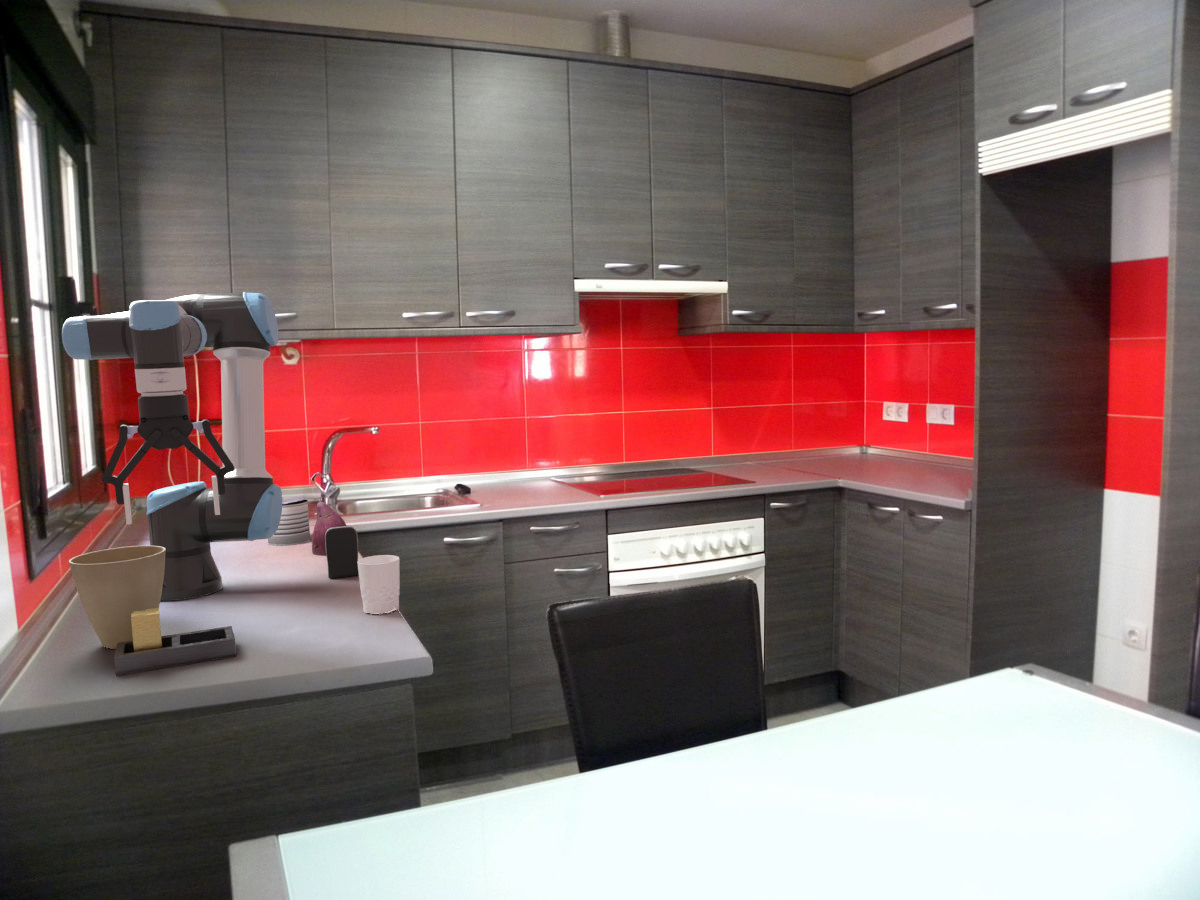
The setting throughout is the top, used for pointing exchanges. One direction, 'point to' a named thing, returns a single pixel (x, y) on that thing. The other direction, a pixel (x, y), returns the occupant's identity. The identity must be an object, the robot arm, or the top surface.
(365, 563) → the white cup
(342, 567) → the battery charger
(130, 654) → the divided tray
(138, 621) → the brass block
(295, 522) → the can
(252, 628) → the top surface
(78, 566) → the plant pot
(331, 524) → the vegetable
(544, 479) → the top surface
